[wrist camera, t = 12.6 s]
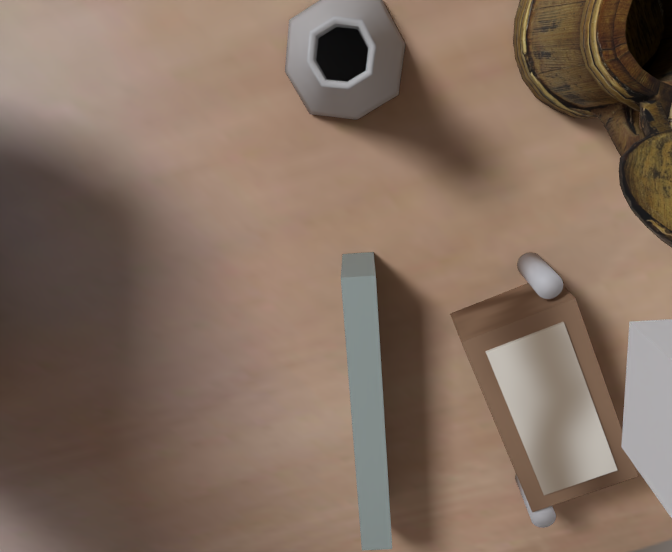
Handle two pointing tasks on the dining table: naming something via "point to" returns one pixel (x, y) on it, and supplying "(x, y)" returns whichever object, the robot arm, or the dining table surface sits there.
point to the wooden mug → (609, 84)
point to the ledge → (369, 390)
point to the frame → (545, 394)
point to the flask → (344, 57)
